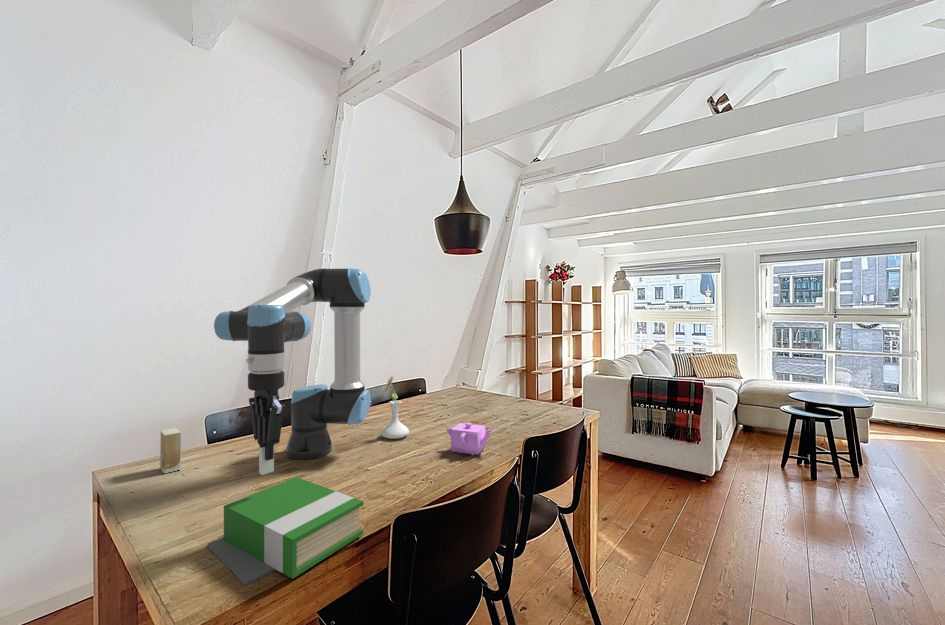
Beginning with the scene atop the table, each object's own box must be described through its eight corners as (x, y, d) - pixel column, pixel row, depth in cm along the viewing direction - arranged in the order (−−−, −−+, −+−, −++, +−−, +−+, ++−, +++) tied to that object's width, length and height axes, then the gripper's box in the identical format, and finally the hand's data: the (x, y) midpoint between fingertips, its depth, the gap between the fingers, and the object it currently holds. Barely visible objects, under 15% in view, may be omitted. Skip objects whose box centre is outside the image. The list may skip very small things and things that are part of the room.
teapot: (498, 448, 148) (499, 421, 147) (488, 462, 134) (488, 432, 134) (453, 443, 153) (453, 416, 153) (438, 455, 140) (438, 426, 140)
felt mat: (207, 546, 86) (207, 543, 86) (305, 507, 103) (305, 504, 103) (244, 585, 74) (244, 582, 74) (348, 534, 91) (348, 531, 91)
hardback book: (296, 476, 103) (363, 501, 90) (296, 505, 103) (363, 533, 90) (223, 505, 87) (292, 539, 75) (223, 539, 88) (292, 578, 75)
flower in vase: (386, 431, 166) (386, 371, 166) (412, 432, 165) (413, 372, 164) (374, 441, 154) (374, 376, 153) (402, 443, 152) (403, 377, 152)
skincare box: (159, 469, 126) (159, 430, 126) (176, 465, 129) (176, 427, 129) (163, 475, 122) (163, 434, 122) (181, 470, 125) (181, 431, 125)
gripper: (236, 370, 94) (237, 470, 94) (262, 376, 86) (263, 486, 86) (269, 366, 100) (269, 460, 100) (296, 372, 92) (296, 474, 92)
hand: (266, 472), depth 93 cm, fingers closed
